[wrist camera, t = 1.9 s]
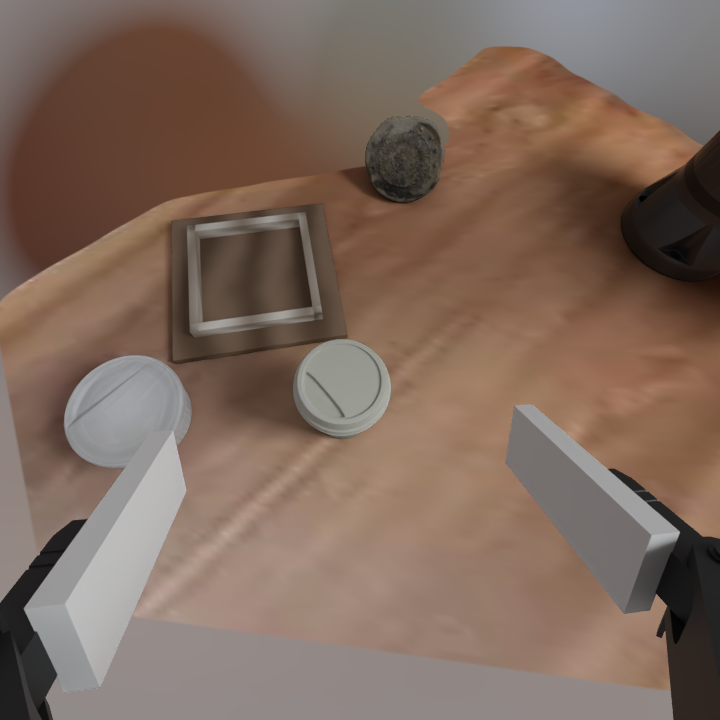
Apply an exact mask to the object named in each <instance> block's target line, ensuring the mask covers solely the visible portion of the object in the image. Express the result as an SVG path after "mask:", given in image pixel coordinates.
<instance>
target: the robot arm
mask: <svg viewBox="0 0 720 720" xmlns="http://www.w3.org/2000/svg"><path fill="white" fill-rule="evenodd" d="M621 225H622V231H623V235H624V237H625V239H626V242H627V243H628V245H629V247H630V248H631V249H632V251H633V252H634V253H635V254H636V255H637V256H638V257H639V258H640V259H641V260H642V261H643V262H644V263H646V264H647V265H648V266H650V267H651V268H653V269H654V270H656V271H658V272H660V273H662V274H664V275H667V276H669V277H672V278H676V279H680V280H686V281H702V280H707V279H710V278H713V277H715V276H717V275H719V274H720V131H719V132H718V133H717V134H716V135H715V136H713V137H712V138H711V140H710V141H708V143H707V144H705V145H704V146H703V147H702V148H701V149H700V150H699V151H698V152H697V153H696V154H695V155H694V156H693V157H692V158H691V159H690V160H689V161H688V162H687V163H686V164H685V165H684V166H682V167H680V168H679V169H677V170H675V171H673V172H672V173H670V174H668V175H667V176H665V177H663V178H661V179H660V180H658V181H656V182H655V183H653V184H651V185H650V186H648V187H646V188H645V189H643V190H642V191H641V192H640V193H639V194H638V195H637V196H636V197H635V198H634V199H633V200H632V201H631V202H630V203H629V204H628V205H627V207H626V208H625V210H624V212H623V215H622V221H621ZM505 463H506V464H507V465H508V466H509V468H510V469H511V470H512V472H513V473H514V474H515V475H516V477H517V478H518V479H519V481H520V482H521V483H522V484H523V486H524V487H525V488H526V489H527V491H528V492H529V493H530V495H531V496H532V497H533V498H534V500H535V501H536V502H537V504H538V505H539V506H540V507H541V509H542V510H543V511H544V512H545V514H546V515H547V516H548V518H549V519H550V520H551V521H552V523H553V524H554V525H555V527H556V528H557V529H558V530H559V532H560V533H561V534H562V535H563V537H564V538H565V539H566V541H567V542H568V543H569V544H570V546H571V547H572V548H573V549H574V551H575V552H576V553H577V555H578V556H579V557H580V558H581V560H582V561H583V562H584V564H585V565H586V566H587V567H588V569H589V570H590V571H591V572H592V574H593V575H594V576H595V578H596V579H597V580H598V581H599V583H600V584H601V585H602V587H603V588H604V589H605V590H606V592H607V593H608V594H609V595H610V597H611V598H612V599H613V601H614V602H615V603H616V604H617V606H618V607H619V608H620V610H621V611H622V612H623V613H624V614H626V613H634V612H641V611H648V610H650V609H651V606H652V603H653V601H654V598H655V596H656V594H657V595H658V596H659V597H660V598H661V599H662V600H663V601H664V603H665V604H666V605H667V608H666V611H665V613H664V615H663V618H662V620H661V623H660V625H659V628H658V631H657V635H656V636H658V637H660V638H662V636H663V633H664V632H665V631H666V641H667V652H668V663H669V675H670V686H671V697H672V707H673V718H674V720H720V539H718V538H713V537H702V536H701V535H700V534H699V533H698V532H696V531H695V530H694V529H693V528H691V527H690V526H689V525H688V524H687V523H685V522H684V521H683V520H682V519H681V518H679V517H678V516H677V515H676V514H675V513H673V512H672V511H671V510H670V509H668V508H667V507H666V506H665V505H664V504H662V503H661V502H660V501H659V502H658V501H657V499H656V498H655V497H654V496H653V495H652V494H650V493H649V492H646V491H645V489H644V488H643V487H642V486H641V485H639V484H638V483H637V482H636V481H635V480H633V479H632V478H631V477H629V476H627V475H625V474H623V473H621V472H619V471H617V470H616V469H607V468H605V467H604V466H603V465H602V464H601V463H600V462H598V461H597V460H596V459H595V458H594V457H593V456H592V455H590V454H589V453H588V452H587V451H586V450H585V449H583V448H582V447H581V446H580V445H579V444H578V443H576V442H575V441H574V440H573V439H572V438H571V437H570V436H568V435H567V434H566V433H565V432H564V431H563V430H561V429H560V428H559V427H558V426H557V425H556V424H554V423H553V422H552V421H551V420H550V419H549V418H547V417H546V416H545V415H544V414H543V413H542V412H541V411H539V410H538V409H537V408H536V407H535V406H534V405H532V404H530V405H516V406H514V411H513V417H512V424H511V430H510V437H509V443H508V450H507V456H506V462H505ZM185 493H186V487H185V482H184V477H183V473H182V468H181V464H180V459H179V455H178V450H177V446H176V441H175V436H174V432H173V430H167V431H153V432H150V434H149V435H148V436H147V438H146V439H145V441H144V442H143V443H142V445H141V446H140V448H139V449H138V450H137V452H136V453H135V455H134V456H133V457H132V459H131V460H130V461H129V463H128V464H127V466H126V467H125V468H124V470H123V471H122V473H121V474H120V475H119V477H118V478H117V480H116V481H115V482H114V484H113V485H112V487H111V488H110V489H109V491H108V492H107V493H106V495H105V496H104V498H103V499H102V500H101V502H100V503H99V505H98V506H97V507H96V509H95V510H94V512H93V513H92V514H91V516H90V517H89V518H88V519H84V520H73V521H71V522H70V523H69V524H68V525H66V526H65V527H64V528H62V529H61V530H60V531H59V532H57V533H56V534H55V535H54V536H53V537H52V538H51V539H50V541H49V542H48V543H47V544H46V546H45V547H44V548H43V549H42V551H41V552H40V556H37V557H36V558H35V560H34V561H33V562H32V563H31V565H30V566H29V569H28V570H26V571H25V572H24V574H23V575H22V576H21V577H20V579H19V580H18V581H17V582H16V584H15V585H14V586H13V587H12V589H11V590H10V591H9V593H8V594H7V595H6V596H5V598H4V599H3V600H2V601H1V603H0V720H53V718H52V714H51V711H50V707H49V704H48V702H47V700H46V698H45V697H46V695H47V693H48V691H49V690H50V688H51V686H52V684H53V682H54V680H55V679H56V677H57V679H58V681H59V683H60V686H61V687H62V690H63V692H64V693H66V692H73V691H80V690H88V689H95V688H100V687H101V685H102V682H103V680H104V678H105V675H106V673H107V671H108V669H109V666H110V664H111V662H112V659H113V657H114V655H115V653H116V650H117V648H118V646H119V643H120V641H121V639H122V637H123V634H124V632H125V630H126V628H127V625H128V623H129V621H130V618H131V616H132V614H133V612H134V609H135V607H136V605H137V603H138V600H139V598H140V596H141V593H142V591H143V589H144V587H145V584H146V582H147V580H148V577H149V575H150V573H151V571H152V568H153V566H154V564H155V562H156V559H157V557H158V555H159V552H160V550H161V548H162V546H163V543H164V541H165V539H166V537H167V534H168V532H169V530H170V527H171V525H172V523H173V521H174V518H175V516H176V514H177V511H178V509H179V507H180V505H181V502H182V500H183V498H184V496H185Z"/></svg>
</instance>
